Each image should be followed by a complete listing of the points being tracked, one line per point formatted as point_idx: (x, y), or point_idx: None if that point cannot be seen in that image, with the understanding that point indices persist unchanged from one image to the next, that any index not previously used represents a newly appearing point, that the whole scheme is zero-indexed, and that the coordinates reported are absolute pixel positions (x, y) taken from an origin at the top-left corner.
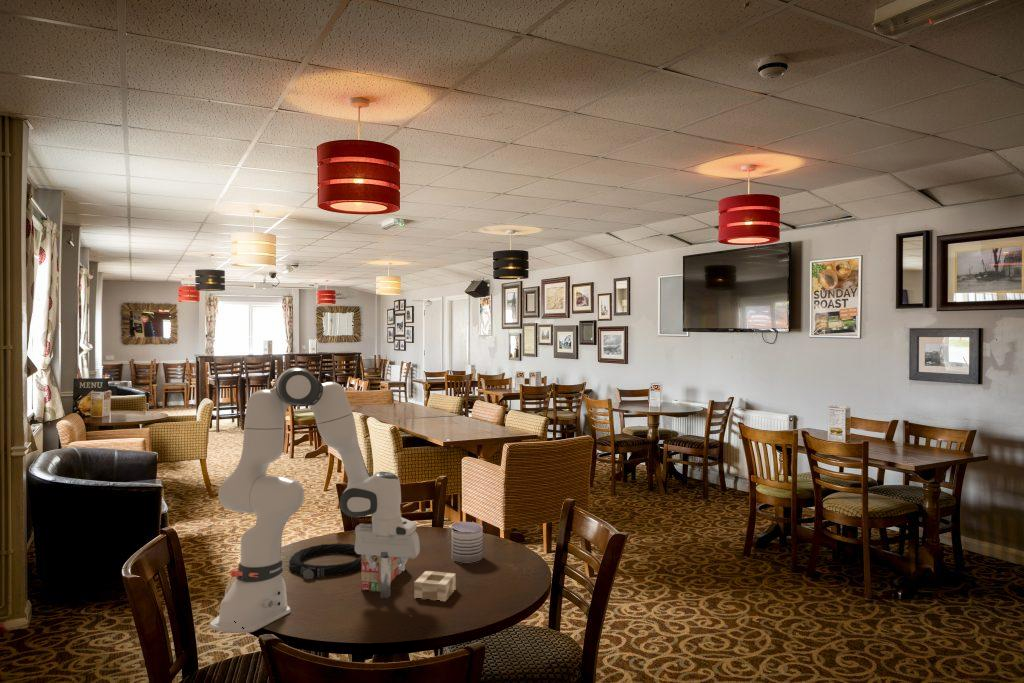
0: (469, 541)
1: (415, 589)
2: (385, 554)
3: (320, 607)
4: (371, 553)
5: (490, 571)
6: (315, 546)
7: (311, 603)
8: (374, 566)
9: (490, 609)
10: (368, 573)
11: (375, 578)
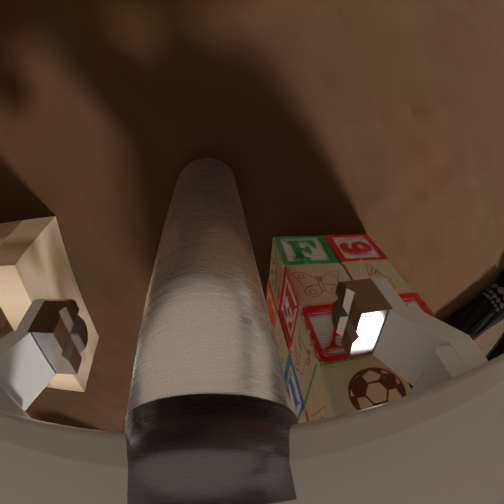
0: None
1: (30, 240)
2: (161, 467)
3: (460, 21)
4: (461, 399)
5: (41, 419)
6: None
7: (495, 67)
8: (345, 306)
9: None
10: None
11: (313, 278)
